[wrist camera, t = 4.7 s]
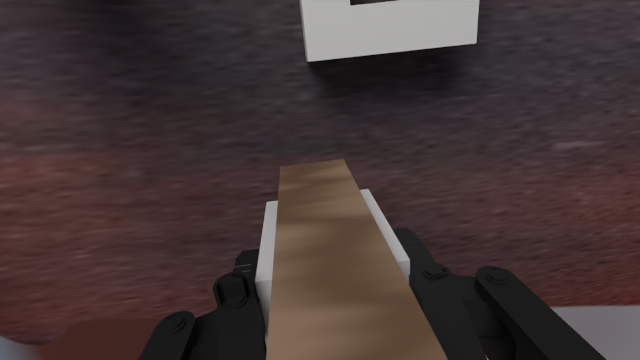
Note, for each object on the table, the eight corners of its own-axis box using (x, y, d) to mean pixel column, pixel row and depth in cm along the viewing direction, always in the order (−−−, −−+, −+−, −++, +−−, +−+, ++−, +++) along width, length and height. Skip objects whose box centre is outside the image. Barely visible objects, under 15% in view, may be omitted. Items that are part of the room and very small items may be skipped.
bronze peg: (288, 223, 22) (287, 579, 7) (279, 166, 20) (254, 466, 6) (348, 215, 22) (470, 545, 7) (343, 157, 21) (487, 426, 6)
